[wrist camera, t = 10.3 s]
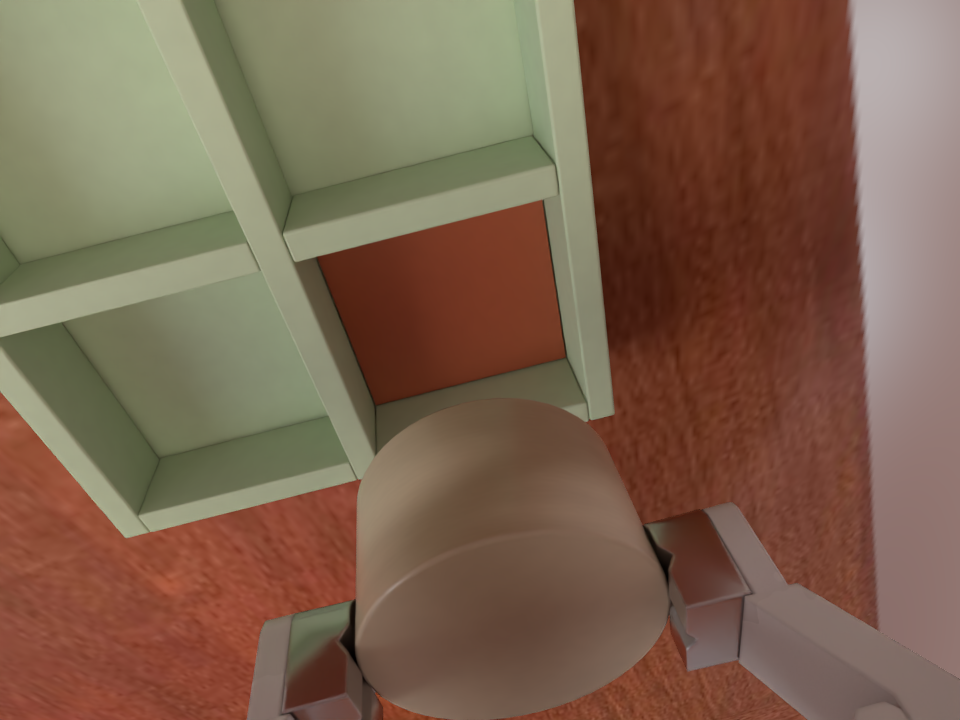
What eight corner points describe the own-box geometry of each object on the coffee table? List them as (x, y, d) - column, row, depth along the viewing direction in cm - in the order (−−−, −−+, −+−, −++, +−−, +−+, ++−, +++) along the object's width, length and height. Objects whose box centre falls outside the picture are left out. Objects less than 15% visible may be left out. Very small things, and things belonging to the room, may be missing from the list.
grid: (512, -249, 12) (546, -288, 10) (588, 361, 21) (615, 415, 19) (-241, -59, 12) (-382, -54, 10) (151, 471, 21) (125, 539, 19)
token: (600, 365, 11) (669, 494, 8) (620, 544, 14) (675, 678, 11) (317, 438, 11) (304, 588, 8) (398, 601, 14) (405, 749, 11)
